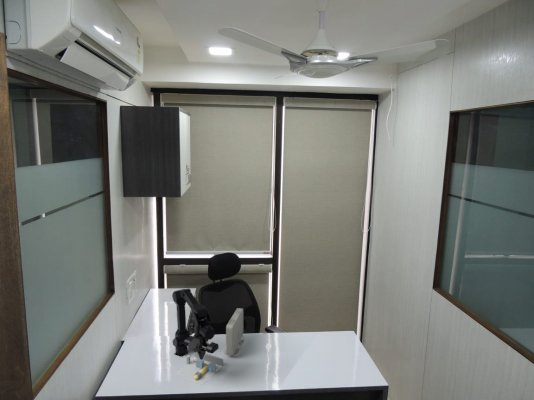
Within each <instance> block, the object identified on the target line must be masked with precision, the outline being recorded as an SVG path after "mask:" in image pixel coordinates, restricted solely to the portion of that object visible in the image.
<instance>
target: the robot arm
mask: <svg viewBox="0 0 534 400" xmlns="http://www.w3.org/2000/svg"><path fill="white" fill-rule="evenodd" d="M171 297H172V301H173V302H174V304H175V306H176V322H177V329H176V331H175V333H174V338H173V339H172V345H173V346H174V347H175V353H173V355H175V356H178V357H180V358H183V357H184V356H187V355H188V353H189V352H193V353H195V352H197V353H198V355H199V357H200V359H201V360H202V359H203V357H204V355H205V353H207V354H210V355H213V354H214V353H215V352H216V351H218V350H219V349H220V347H219V343H217V342H213V341H211V342H210V343H209V342H208V341H210V340H212V339H213V338H214V337H215V335H216V330H215V329H214V328H213V327H212V325H210V323H212V316H211V315H210V311H209V309H207V307H206V306H205V305H203V304H200V303H199V301H198V300H197V298H196V297H195V295H194V294H193V293H192V290H191V289H190V288H182V289H178V290H174V291H173V293H172V295H171ZM186 304H187V305H188V307H189V308H190V310H191V316H192V319H193V322H194V329H195V332H194V334H193V335H191V333H190V332H189V330H188V329H187V320H186V315H187V314H186Z"/></svg>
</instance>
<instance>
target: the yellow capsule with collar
mask: <svg viewBox="0 0 534 400" xmlns="http://www.w3.org/2000/svg"><path fill="white" fill-rule="evenodd" d="M208 369H209V367H208V366H205V367H204V368H203V369H202V370H200V371H199V372H196V373H195V376H194V378H195V379H196V380H197V379H198V380H199V379H200V378H201V377H202V375H203V374H204V373H205V372H206V371H207V370H208Z"/></svg>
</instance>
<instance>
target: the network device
mask: <svg viewBox="0 0 534 400" xmlns="http://www.w3.org/2000/svg"><path fill="white" fill-rule="evenodd" d="M243 336H244V308H240V307H239V308H238V307H237V308H236V309H235V311H234V313H233V314H232V316H231V317H230V319H229V320H228V323H227V324H226V326H225V339H226V340H225V342H226V344H225V346H226V347H225V351H224V355H225V356H228V357H237V356H239V355H240V353H241V351H242V349H243V347H242V346H244V345H243V344H245V341H246V340H245V339H244V338H243ZM241 339H243V341H244V340H245V341H244V342H243V341H242V343H241V344H240V342H241V341H240V340H241ZM237 348H238V349H237ZM237 350H238V352H237V353H235V352H236V351H237Z"/></svg>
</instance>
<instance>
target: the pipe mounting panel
mask: <svg viewBox="0 0 534 400" xmlns="http://www.w3.org/2000/svg"><path fill="white" fill-rule="evenodd" d="M185 357H186V364H185V365H184V366H183V365H182V367H181V368H179V369H178V370H177V371H176V372H175V373H174V375H175V376H178V377H181V378H184V379H186V380H188V381H191V382H194V383H196V384H199V385H202V386H203V385H204V384H205V383H207V381H208V380H209V379H210V378H212V377H213V375H214V374H216V373H217V372H218V371H219V370H220V369H221V368H222V367H223V366H224V358H222V357H218V356H215V355H213V354H211V353H208V352H205V355H204V357H203V359H202V360H201V359H200V357H199V355H198V353H197V352H194V357H193V358H192V359H191V355H190V354H186V355H185ZM205 366H208V367H209V369H208V370H207V371H206V372H205V373H204V374H203V375H202V377H201V378H200V379H199V380H198V379H197V380H196V379H195V378H194V376H195V373H196V372H199V371H200V370H202V369H203V368H204V367H205Z"/></svg>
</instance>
